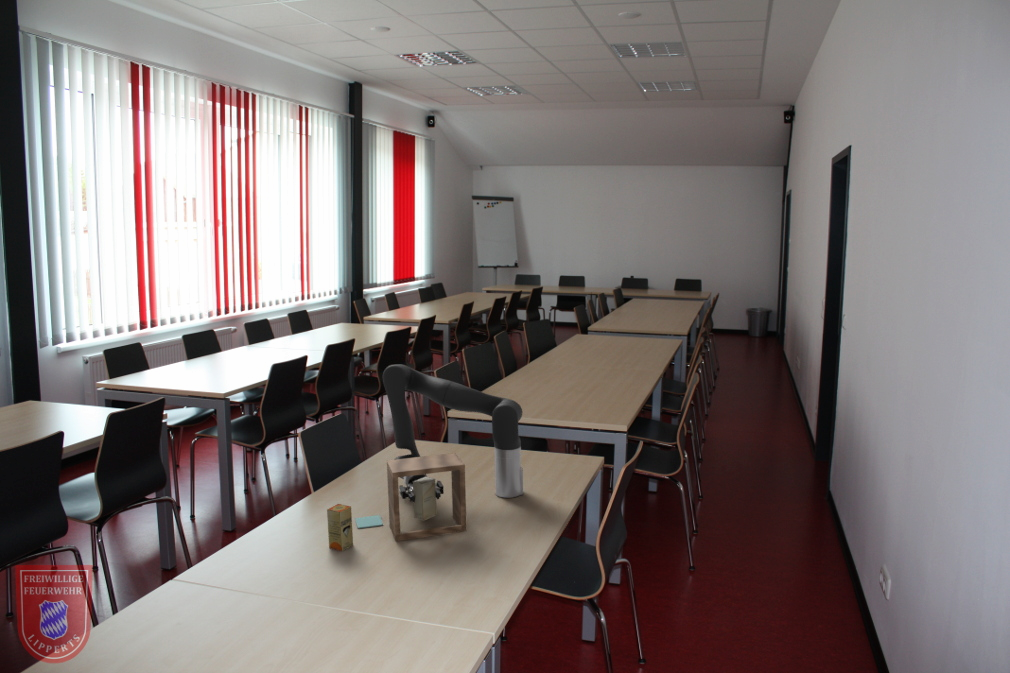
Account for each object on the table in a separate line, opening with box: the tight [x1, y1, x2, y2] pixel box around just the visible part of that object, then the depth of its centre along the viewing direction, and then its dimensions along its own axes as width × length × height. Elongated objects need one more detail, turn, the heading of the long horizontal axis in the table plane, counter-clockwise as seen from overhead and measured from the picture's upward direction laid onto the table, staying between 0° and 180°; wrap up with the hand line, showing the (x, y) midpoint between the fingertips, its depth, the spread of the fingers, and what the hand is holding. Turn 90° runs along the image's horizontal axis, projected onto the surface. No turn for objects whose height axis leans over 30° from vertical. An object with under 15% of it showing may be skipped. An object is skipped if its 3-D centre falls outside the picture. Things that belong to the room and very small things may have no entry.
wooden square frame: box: [386, 452, 467, 542], centre depth 226 cm, size 22×12×22 cm, turn 107°
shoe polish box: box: [326, 503, 354, 552], centre depth 215 cm, size 5×5×12 cm
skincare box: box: [413, 476, 437, 522], centre depth 230 cm, size 6×4×12 cm
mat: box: [354, 514, 384, 530], centre depth 233 cm, size 8×8×1 cm
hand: (426, 497), depth 228 cm, fingers closed on skincare box, 7 cm apart
